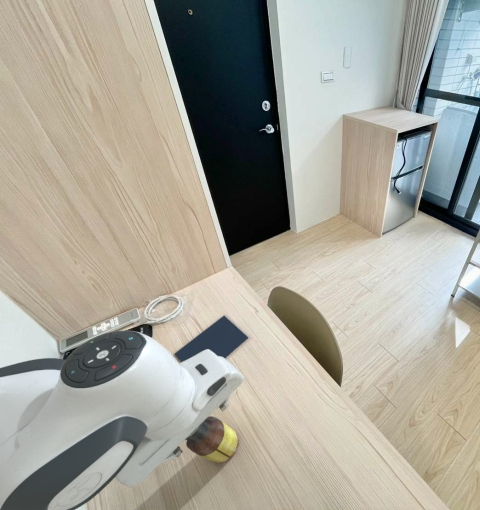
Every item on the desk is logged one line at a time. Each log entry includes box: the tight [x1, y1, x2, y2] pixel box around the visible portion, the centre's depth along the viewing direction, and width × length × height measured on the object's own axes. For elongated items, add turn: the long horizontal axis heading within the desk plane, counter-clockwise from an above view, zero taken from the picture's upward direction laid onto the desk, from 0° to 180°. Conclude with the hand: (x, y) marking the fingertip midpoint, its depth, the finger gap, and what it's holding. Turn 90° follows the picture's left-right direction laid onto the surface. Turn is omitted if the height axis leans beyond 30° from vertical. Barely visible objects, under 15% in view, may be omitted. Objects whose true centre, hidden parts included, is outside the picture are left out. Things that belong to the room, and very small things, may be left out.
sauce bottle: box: [184, 415, 240, 464], centre depth 53 cm, size 6×6×20 cm
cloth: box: [174, 315, 249, 363], centre depth 77 cm, size 16×12×1 cm
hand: (201, 428), depth 49 cm, fingers open, 8 cm apart
